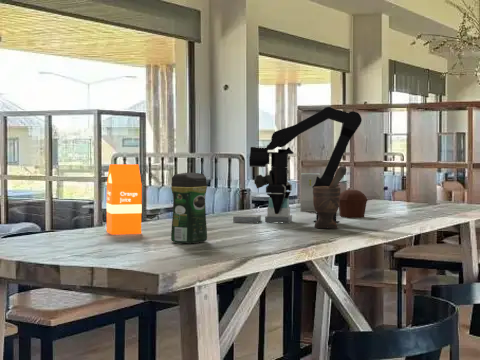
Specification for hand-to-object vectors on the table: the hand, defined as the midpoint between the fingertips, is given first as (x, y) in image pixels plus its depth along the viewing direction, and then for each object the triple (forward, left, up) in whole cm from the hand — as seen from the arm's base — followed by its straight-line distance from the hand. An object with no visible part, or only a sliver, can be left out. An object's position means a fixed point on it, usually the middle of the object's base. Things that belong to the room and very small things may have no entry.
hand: (278, 212), depth 269 cm
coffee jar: (-30, +58, -3) cm, 65 cm away
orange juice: (-1, +61, -3) cm, 61 cm away
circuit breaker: (+31, -44, -3) cm, 54 cm away
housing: (0, 0, -1) cm, 1 cm away
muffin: (+1, -37, -3) cm, 37 cm away
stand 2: (0, 0, -3) cm, 3 cm away
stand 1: (+6, +9, -3) cm, 11 cm away
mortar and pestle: (-25, 0, -3) cm, 25 cm away
